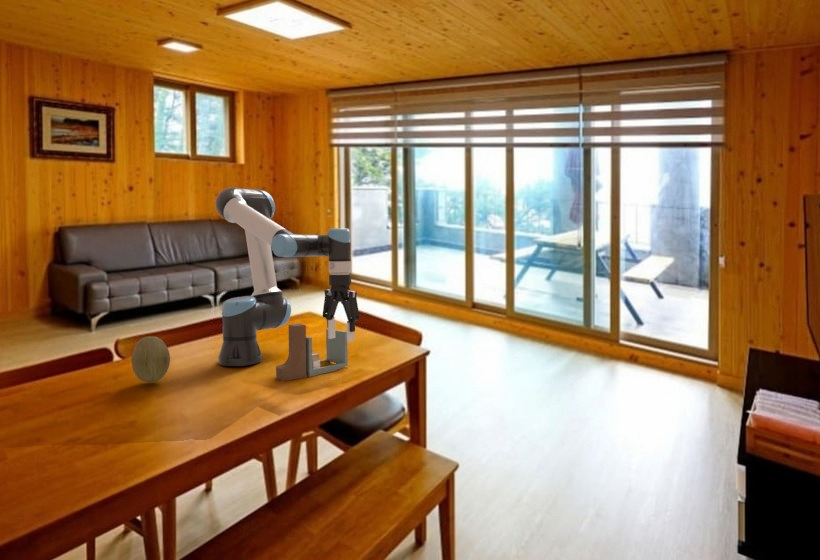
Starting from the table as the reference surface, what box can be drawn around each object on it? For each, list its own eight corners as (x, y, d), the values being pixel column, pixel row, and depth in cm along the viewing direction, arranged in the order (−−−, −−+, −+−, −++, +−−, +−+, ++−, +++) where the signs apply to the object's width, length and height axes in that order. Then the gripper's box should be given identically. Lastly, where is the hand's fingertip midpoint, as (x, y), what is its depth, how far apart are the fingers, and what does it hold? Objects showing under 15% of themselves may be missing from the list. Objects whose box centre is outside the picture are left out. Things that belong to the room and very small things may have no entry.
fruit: (178, 378, 182) (176, 334, 181) (152, 387, 171) (150, 339, 170) (150, 376, 186) (149, 332, 185) (123, 384, 175) (121, 337, 174)
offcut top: (300, 359, 190) (299, 353, 190) (306, 357, 193) (306, 351, 192) (312, 361, 186) (312, 355, 186) (319, 360, 189) (319, 353, 189)
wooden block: (280, 382, 178) (280, 327, 176) (275, 379, 182) (275, 325, 180) (306, 378, 183) (306, 325, 182) (301, 375, 187) (300, 323, 185)
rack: (291, 372, 190) (290, 335, 189) (329, 364, 203) (328, 329, 202) (309, 376, 183) (308, 338, 183) (347, 367, 196) (347, 331, 196)
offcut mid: (299, 366, 190) (299, 359, 190) (306, 364, 193) (306, 357, 193) (313, 368, 186) (313, 361, 186) (320, 367, 189) (320, 360, 189)
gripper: (311, 273, 191) (312, 337, 192) (353, 275, 177) (354, 344, 178) (327, 272, 197) (328, 335, 198) (370, 274, 183) (371, 341, 184)
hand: (341, 339), depth 188 cm, fingers open, 9 cm apart
